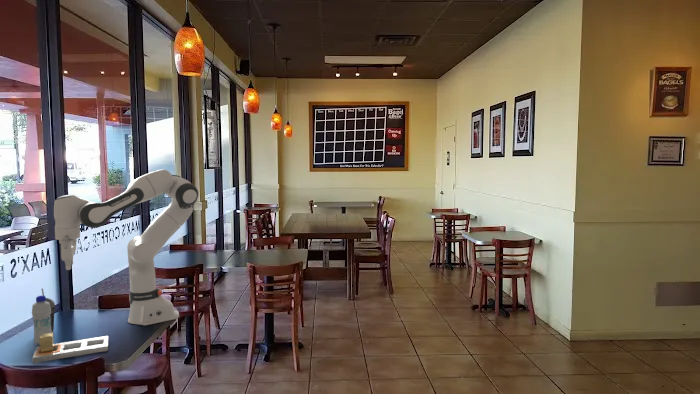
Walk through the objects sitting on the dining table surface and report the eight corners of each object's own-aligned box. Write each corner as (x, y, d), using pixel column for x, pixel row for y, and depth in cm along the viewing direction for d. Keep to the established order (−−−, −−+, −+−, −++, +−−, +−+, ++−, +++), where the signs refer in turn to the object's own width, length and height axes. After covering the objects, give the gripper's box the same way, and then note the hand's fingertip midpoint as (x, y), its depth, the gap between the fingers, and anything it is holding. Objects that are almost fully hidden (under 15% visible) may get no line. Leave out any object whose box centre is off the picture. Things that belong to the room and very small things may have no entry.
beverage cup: (47, 337, 202) (44, 291, 200) (33, 336, 204) (30, 290, 202) (61, 331, 209) (58, 286, 208) (47, 329, 211) (44, 285, 209)
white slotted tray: (108, 340, 198) (108, 335, 198) (107, 350, 188) (107, 345, 187) (37, 351, 187) (37, 346, 187) (32, 363, 177) (32, 357, 176)
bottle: (39, 340, 199) (36, 293, 197) (56, 339, 199) (53, 293, 198) (30, 346, 192) (27, 298, 190) (47, 346, 193) (44, 298, 191)
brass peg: (54, 352, 186) (53, 332, 186) (53, 356, 183) (52, 336, 182) (42, 354, 184) (40, 334, 184) (41, 358, 181) (39, 337, 180)
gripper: (74, 237, 187) (76, 271, 188) (78, 230, 205) (79, 261, 207) (55, 238, 184) (57, 273, 185) (61, 231, 203) (63, 263, 204)
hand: (69, 267), depth 196 cm, fingers open, 8 cm apart
